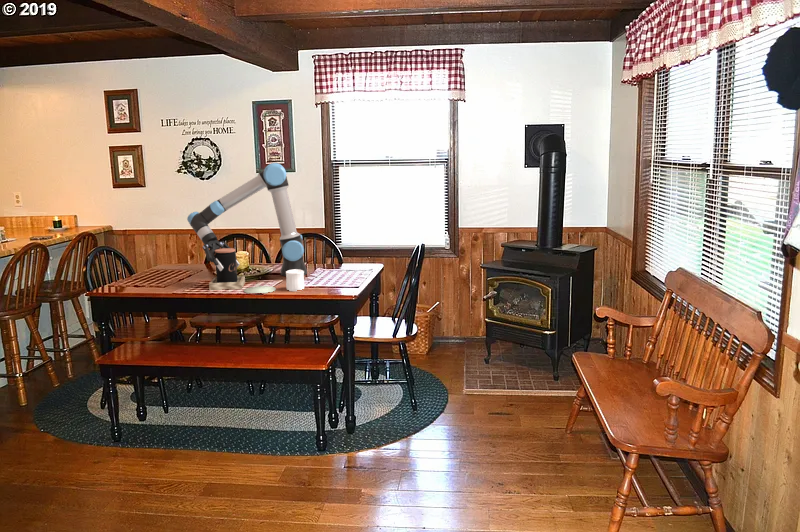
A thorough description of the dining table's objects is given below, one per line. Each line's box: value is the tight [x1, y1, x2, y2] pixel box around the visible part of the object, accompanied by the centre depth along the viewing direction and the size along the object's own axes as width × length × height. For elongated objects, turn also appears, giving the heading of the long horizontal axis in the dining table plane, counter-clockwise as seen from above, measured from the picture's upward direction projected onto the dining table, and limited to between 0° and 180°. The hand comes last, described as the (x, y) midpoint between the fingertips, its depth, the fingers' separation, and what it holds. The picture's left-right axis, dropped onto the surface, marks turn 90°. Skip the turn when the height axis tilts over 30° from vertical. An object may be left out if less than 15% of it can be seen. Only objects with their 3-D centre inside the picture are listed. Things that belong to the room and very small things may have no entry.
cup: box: [285, 269, 305, 292], centre depth 338 cm, size 10×10×10 cm
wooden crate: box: [208, 276, 246, 291], centre depth 349 cm, size 16×16×4 cm
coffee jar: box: [215, 247, 238, 283], centre depth 347 cm, size 11×11×18 cm
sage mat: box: [243, 285, 277, 294], centre depth 338 cm, size 16×16×1 cm
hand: (230, 267), depth 346 cm, fingers closed on coffee jar, 11 cm apart
